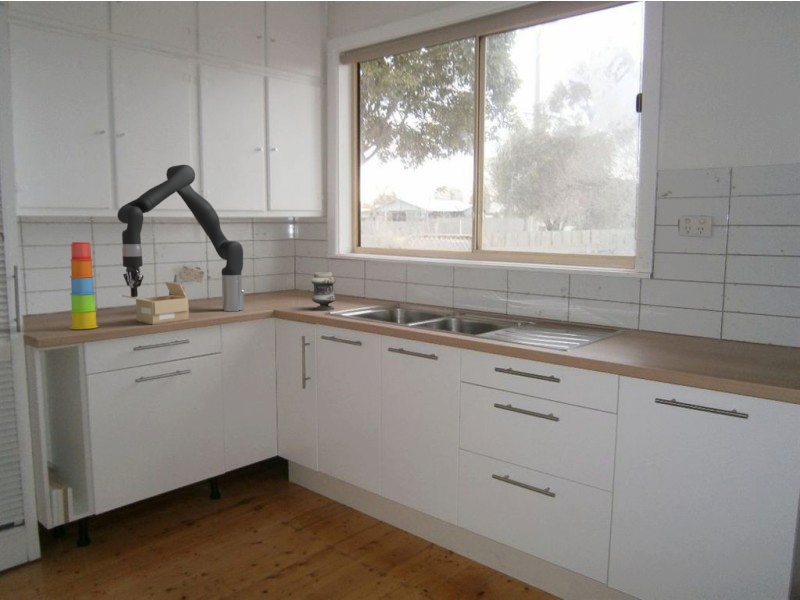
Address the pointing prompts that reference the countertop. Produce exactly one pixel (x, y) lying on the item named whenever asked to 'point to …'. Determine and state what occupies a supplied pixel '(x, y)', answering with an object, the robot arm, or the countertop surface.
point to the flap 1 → (135, 298)
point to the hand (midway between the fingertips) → (134, 296)
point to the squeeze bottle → (176, 280)
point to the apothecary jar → (323, 290)
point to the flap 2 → (175, 288)
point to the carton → (162, 309)
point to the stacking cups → (82, 287)
